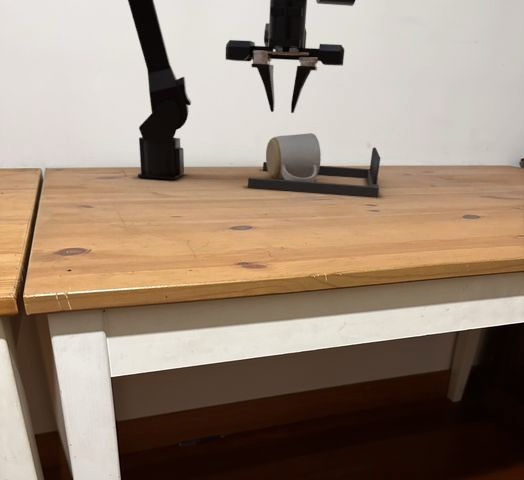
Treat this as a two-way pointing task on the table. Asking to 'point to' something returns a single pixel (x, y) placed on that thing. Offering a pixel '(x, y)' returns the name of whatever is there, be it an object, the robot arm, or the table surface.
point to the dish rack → (327, 187)
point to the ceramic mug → (293, 157)
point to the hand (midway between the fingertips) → (282, 112)
